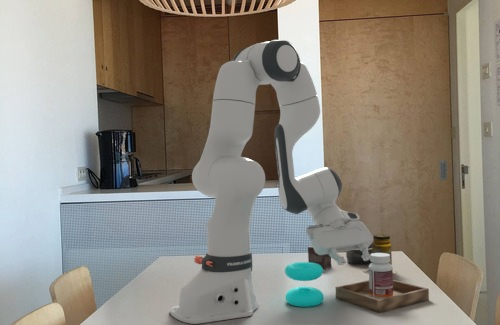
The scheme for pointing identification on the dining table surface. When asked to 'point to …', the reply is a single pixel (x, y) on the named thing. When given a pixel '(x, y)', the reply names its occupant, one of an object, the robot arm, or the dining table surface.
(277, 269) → the dining table surface
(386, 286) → the pill bottle
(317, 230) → the robot arm
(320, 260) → the box
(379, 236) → the condiment
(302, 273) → the donuts
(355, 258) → the jar
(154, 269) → the dining table surface
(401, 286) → the tray
